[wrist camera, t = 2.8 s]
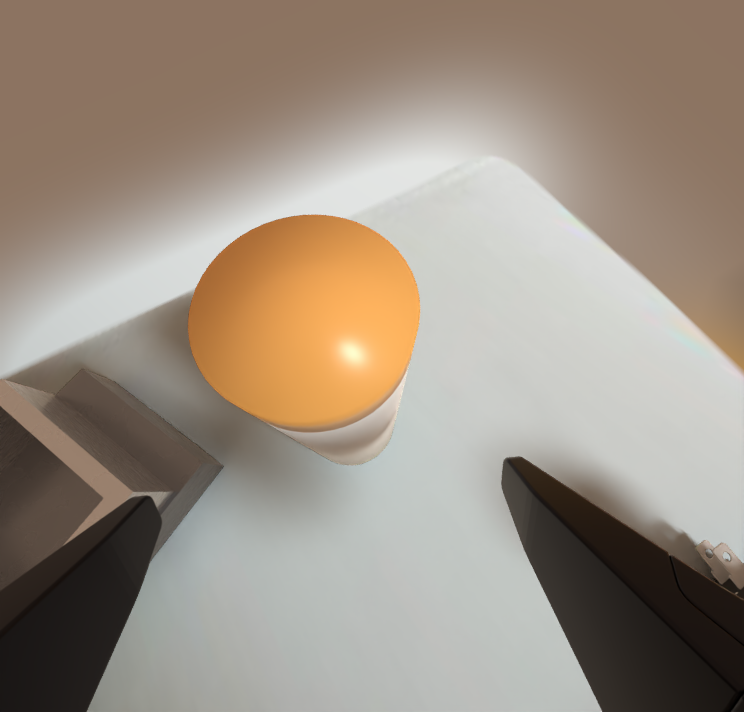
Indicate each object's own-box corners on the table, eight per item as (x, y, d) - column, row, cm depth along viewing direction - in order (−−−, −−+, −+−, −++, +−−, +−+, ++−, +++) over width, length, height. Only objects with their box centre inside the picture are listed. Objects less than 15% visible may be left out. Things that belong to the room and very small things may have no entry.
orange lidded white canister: (362, 484, 19) (330, 474, 6) (290, 433, 20) (138, 336, 7) (410, 408, 20) (461, 275, 8) (340, 364, 21) (285, 184, 9)
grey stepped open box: (46, 696, 16) (-115, 795, 11) (-65, 570, 18) (-247, 602, 13) (223, 466, 19) (167, 457, 14) (114, 381, 21) (30, 347, 16)
